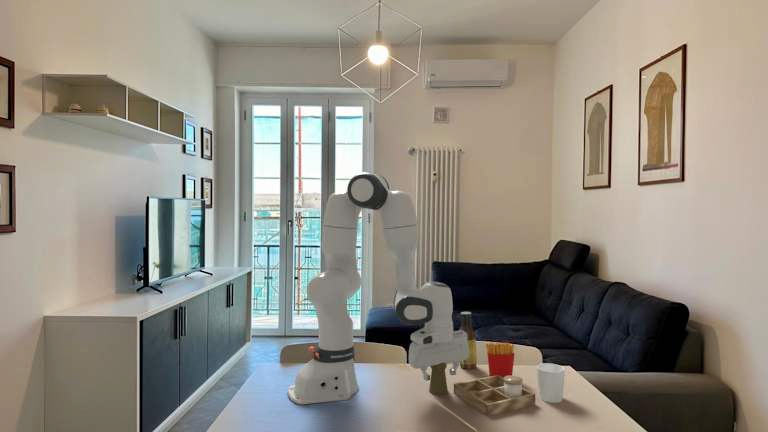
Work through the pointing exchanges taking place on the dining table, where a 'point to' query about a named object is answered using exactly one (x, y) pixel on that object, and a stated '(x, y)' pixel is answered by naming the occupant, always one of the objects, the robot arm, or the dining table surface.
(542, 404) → the dining table surface
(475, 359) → the sauce bottle
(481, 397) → the oak caddy
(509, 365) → the french fries
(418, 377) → the dining table surface
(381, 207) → the robot arm
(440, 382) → the olive pepper mill
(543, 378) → the white cup
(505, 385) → the cream ceramic jar
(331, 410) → the dining table surface
